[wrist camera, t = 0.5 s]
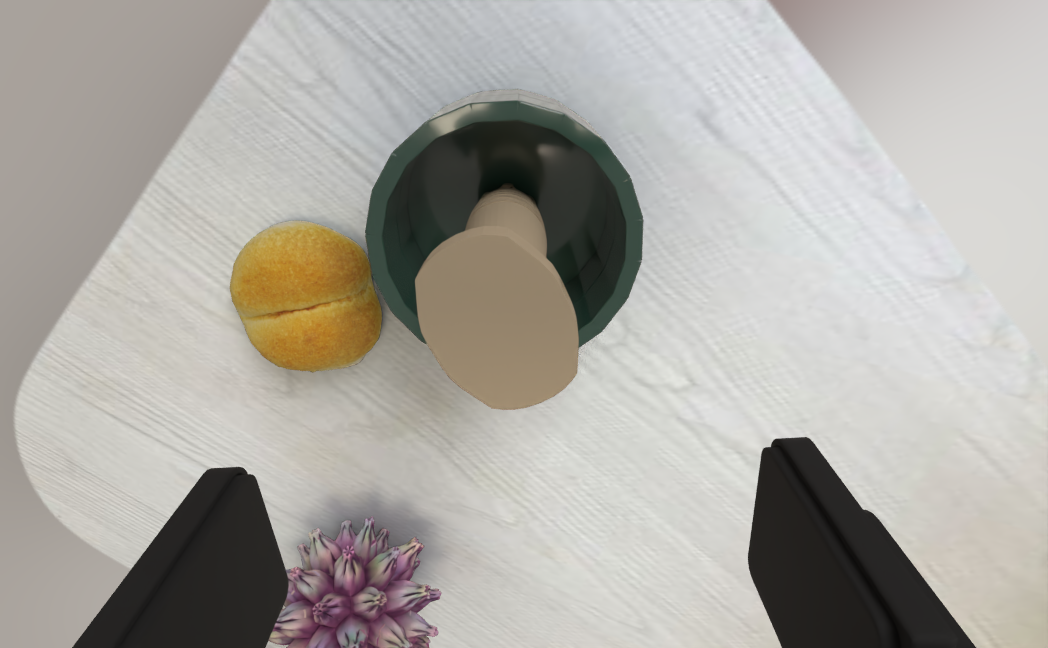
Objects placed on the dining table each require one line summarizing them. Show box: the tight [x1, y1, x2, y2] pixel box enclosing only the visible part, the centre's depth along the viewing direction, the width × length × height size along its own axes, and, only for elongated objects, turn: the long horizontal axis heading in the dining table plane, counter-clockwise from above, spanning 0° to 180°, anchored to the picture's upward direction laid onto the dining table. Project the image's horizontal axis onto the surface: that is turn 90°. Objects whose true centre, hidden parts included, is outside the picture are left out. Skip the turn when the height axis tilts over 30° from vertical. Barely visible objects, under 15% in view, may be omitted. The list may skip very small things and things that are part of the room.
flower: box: [268, 516, 441, 648], centre depth 39 cm, size 12×12×12 cm
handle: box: [415, 183, 579, 410], centre depth 26 cm, size 5×6×15 cm
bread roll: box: [230, 220, 382, 373], centre depth 33 cm, size 8×9×4 cm
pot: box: [365, 89, 643, 348], centre depth 30 cm, size 13×13×7 cm
